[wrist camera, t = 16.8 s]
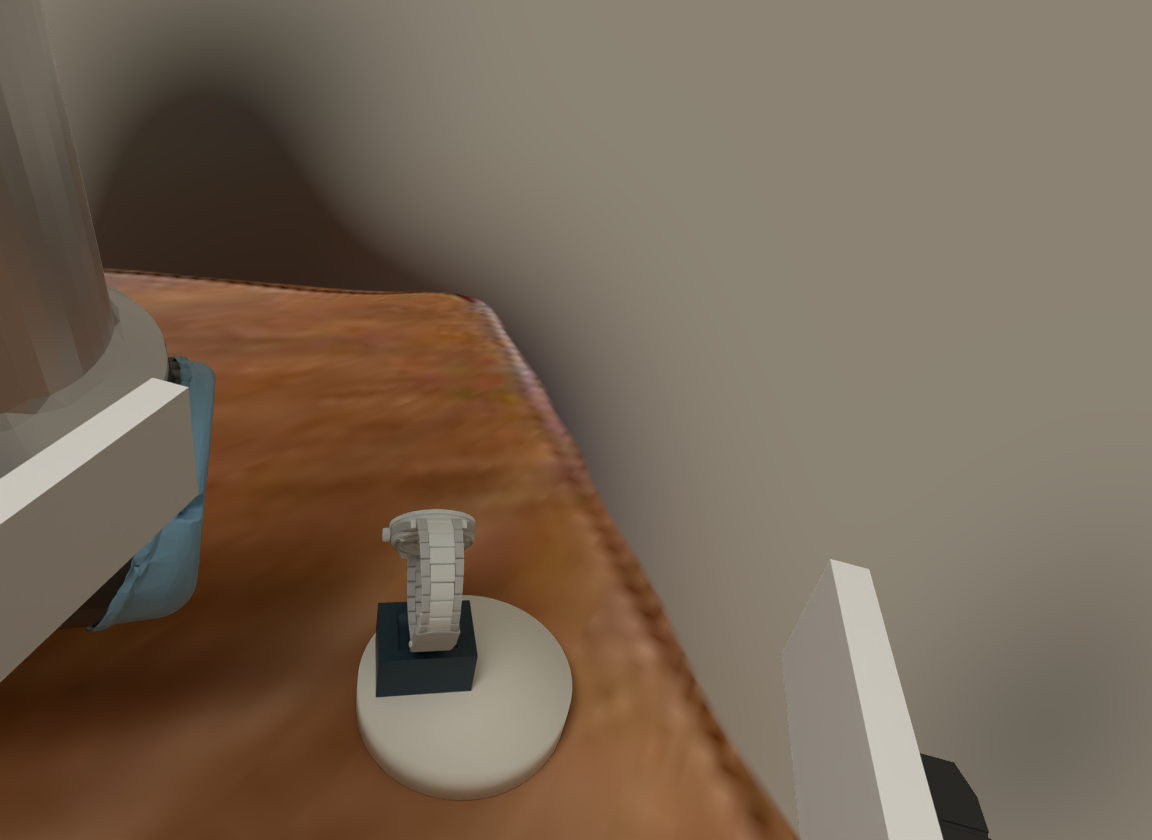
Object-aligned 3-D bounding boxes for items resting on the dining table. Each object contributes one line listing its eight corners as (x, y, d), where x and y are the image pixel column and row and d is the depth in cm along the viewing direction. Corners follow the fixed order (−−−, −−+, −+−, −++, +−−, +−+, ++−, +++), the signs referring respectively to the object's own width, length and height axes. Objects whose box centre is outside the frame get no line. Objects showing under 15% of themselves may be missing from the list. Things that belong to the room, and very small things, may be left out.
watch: (460, 611, 48) (482, 480, 43) (474, 716, 42) (502, 579, 36) (373, 614, 47) (384, 478, 41) (374, 724, 40) (386, 582, 35)
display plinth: (308, 727, 42) (308, 700, 41) (435, 593, 53) (438, 567, 51) (502, 845, 39) (509, 819, 37) (595, 675, 49) (603, 651, 48)
